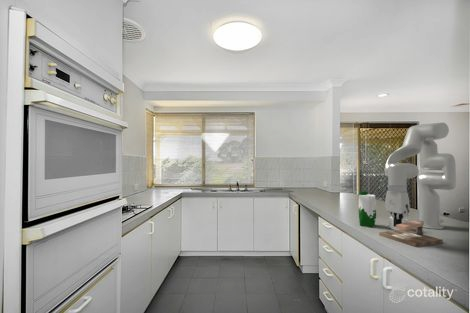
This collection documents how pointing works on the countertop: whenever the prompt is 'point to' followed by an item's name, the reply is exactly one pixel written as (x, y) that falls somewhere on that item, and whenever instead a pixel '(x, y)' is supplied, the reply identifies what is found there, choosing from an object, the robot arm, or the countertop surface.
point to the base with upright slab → (391, 222)
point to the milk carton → (367, 209)
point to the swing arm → (409, 225)
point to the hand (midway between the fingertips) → (397, 226)
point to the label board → (411, 237)
